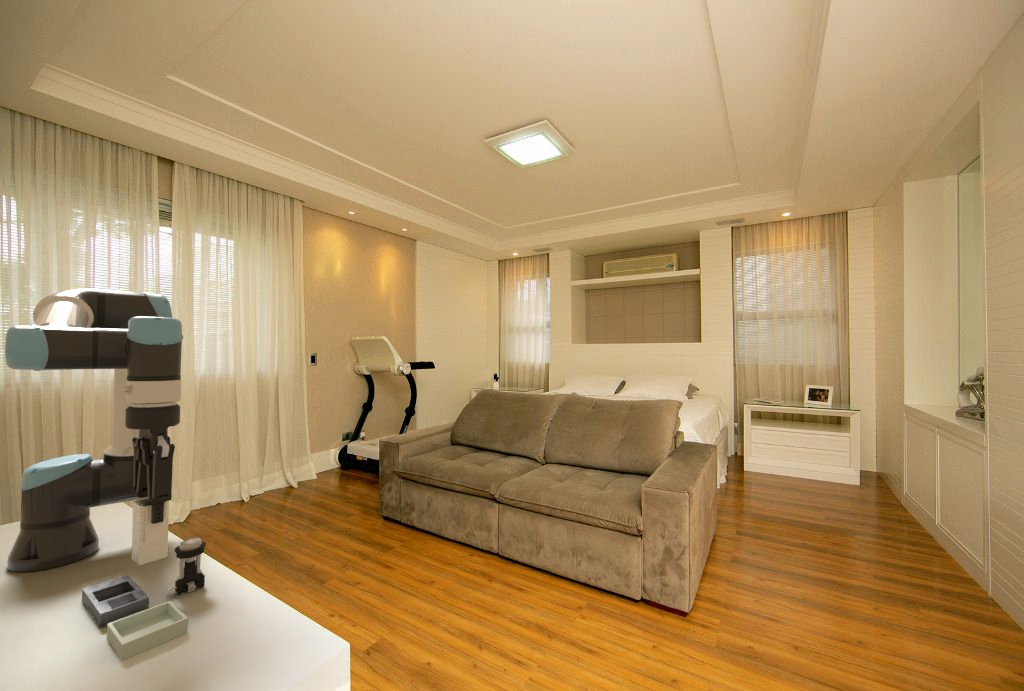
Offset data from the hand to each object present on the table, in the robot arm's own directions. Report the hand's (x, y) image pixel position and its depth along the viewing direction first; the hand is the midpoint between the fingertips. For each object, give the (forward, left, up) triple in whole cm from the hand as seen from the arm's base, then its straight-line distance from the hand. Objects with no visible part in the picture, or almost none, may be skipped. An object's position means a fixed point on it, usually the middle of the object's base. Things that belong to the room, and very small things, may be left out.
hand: (150, 536), depth 78 cm
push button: (-12, +9, -17) cm, 23 cm away
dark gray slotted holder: (-16, -1, -17) cm, 24 cm away
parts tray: (0, 0, -17) cm, 17 cm away
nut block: (0, 0, -4) cm, 4 cm away
